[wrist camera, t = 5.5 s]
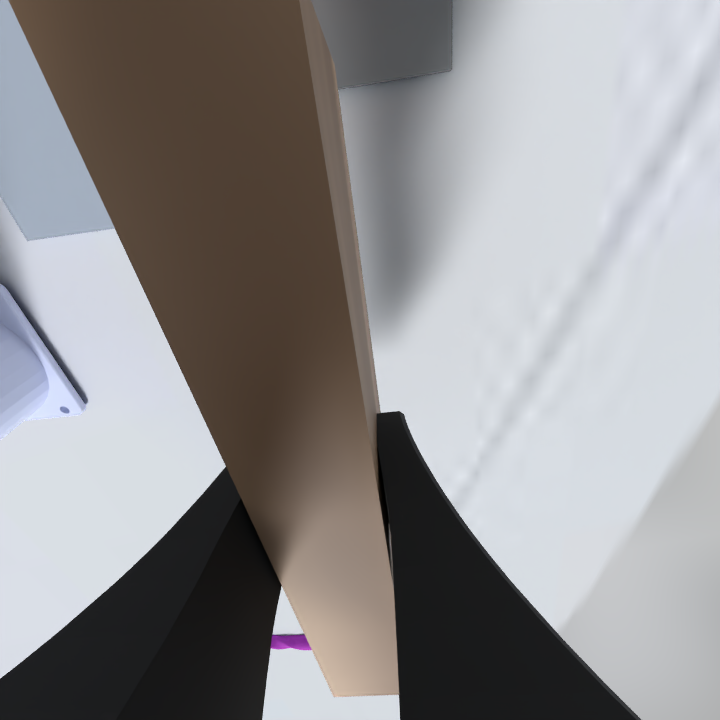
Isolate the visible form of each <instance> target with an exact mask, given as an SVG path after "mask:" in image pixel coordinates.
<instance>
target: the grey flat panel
mask: <svg viewBox="0 0 720 720" xmlns="http://www.w3.org/2000/svg"><path fill="white" fill-rule="evenodd" d="M0 197H1V198H2V200H3V202H4V203H5V205H6V207H7V208H8V210H9V212H10V213H11V215H12V217H13V218H14V220H15V222H16V223H17V225H18V227H19V228H20V230H21V232H22V233H23V235H24V236H25V238H26V240H27V241H30V240H37V239H44V238H51V237H58V236H65V235H72V234H79V233H86V232H93V231H100V230H107V229H114V228H115V227H114V225H113V223H112V221H111V219H110V217H109V215H108V213H107V210H106V208H105V206H104V204H103V202H102V200H101V198H100V195H99V193H98V191H97V189H96V187H95V185H94V183H93V180H92V178H91V176H90V174H89V172H88V170H87V168H86V165H85V163H84V161H83V159H82V157H81V155H80V153H79V150H78V148H77V146H76V144H75V142H74V140H73V138H72V135H71V133H70V131H69V129H68V127H67V125H66V123H65V120H64V118H63V116H62V114H61V112H60V110H59V108H58V106H57V103H56V101H55V99H54V97H53V95H52V93H51V91H50V88H49V86H48V84H47V82H46V80H45V78H44V76H43V73H42V71H41V69H40V67H39V65H38V63H37V61H36V58H35V56H34V54H33V52H32V50H31V48H30V46H29V43H28V41H27V39H26V37H25V35H24V33H23V31H22V28H21V26H20V24H19V22H18V20H17V18H16V16H15V13H14V11H13V9H12V7H11V5H10V3H9V1H8V0H0Z"/></svg>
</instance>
